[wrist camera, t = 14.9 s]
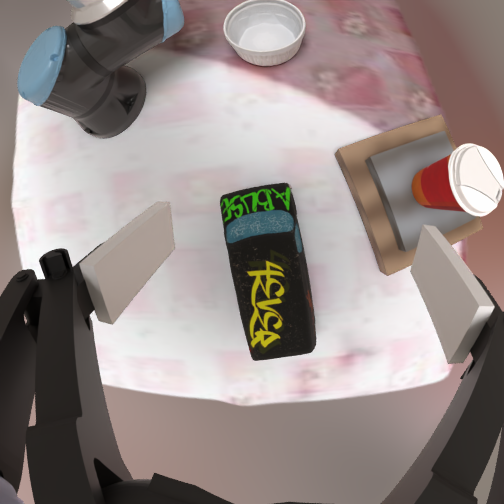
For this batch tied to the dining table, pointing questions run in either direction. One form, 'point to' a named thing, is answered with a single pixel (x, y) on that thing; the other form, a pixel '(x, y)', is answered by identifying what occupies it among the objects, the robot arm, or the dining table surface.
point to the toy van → (269, 271)
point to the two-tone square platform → (400, 190)
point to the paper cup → (461, 182)
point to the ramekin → (265, 31)
